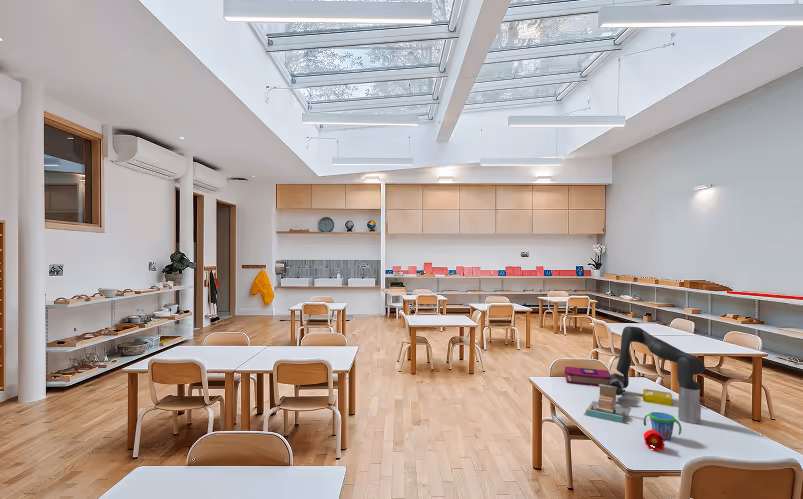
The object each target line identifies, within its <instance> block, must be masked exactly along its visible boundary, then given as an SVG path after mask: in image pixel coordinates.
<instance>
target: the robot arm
mask: <svg viewBox="0 0 803 499" xmlns="http://www.w3.org/2000/svg"><path fill="white" fill-rule="evenodd" d="M631 343H639V344H643V345H644V346H646V347H647V349H648V350H649V351H650V353H651V354H653V355H655V356H656V357H658V358H660V359H663V360H665V361H668V362H673V363H676V373H677V377H676V378H677V381H678V410H677V412H678V413H677V418H678V419H677V420H680V421H682V422H685V423H691V424H699V423H700V422H701V420H702V419H701V418H702V415H701V414H702V413H701V412H702V403H700V398H701V396H700V393H701V384H700V382H699V381H696V380H694V375H700V374H702V373H704V372H705V370H706V366H705V363H704V362H703V360H702V359H701V358H699V357H697V356H696V355H692V354H690V353H688V352H685V351H682V350H681V349H680V348H678V347H676V346H674V345H671V344H670V343H668V342H666V341H664V340H663V339H660V338H658V337H656V336H653V335H652V334H650V333H649V332H648V331H645V330H644V329H643V328H641V327H638V326H630V325H629V326H628V325H627V326H625V327H624V328H623V330H622V333H621V340H620V350H619V352H620V353H619V356H618V361H617V364H616V371H617V372H619V373H620V374H618V373H614V372H613V373H612V374H610V375H611V377H610V380H609V382H610V383H609V385H608V386H614V387H617V390H616V396H624V395H626V388H627V387H628V386H629V385H630V383H629V382H630V381H629V380H630V379H629V373H630V372H629V371H630V368H631V363H632V356H631V352H630V347H631V346H630V345H631ZM621 374H622V375H621Z"/></svg>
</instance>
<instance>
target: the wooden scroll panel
mask: <svg viewBox="0 0 803 499" xmlns="http://www.w3.org/2000/svg"><path fill="white" fill-rule="evenodd" d="M598 387H599V397H598V399H597V400H598V401H597V402H598V406H597V407H596V411H600V412H602V411H603V412H608V413H610V414H614V413H615V412H616V410H615V408H616V405H617V395H616V390H617V387H614V386H608V385H603V384H599V386H598Z"/></svg>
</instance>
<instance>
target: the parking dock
mask: <svg viewBox="0 0 803 499" xmlns="http://www.w3.org/2000/svg"><path fill="white" fill-rule="evenodd" d="M597 406H598V401H595V400H592V402H591V403H590V404H589V406H588V407H587V408H586V410H585V412H584V413H583V416H586V417H592V418H596V419H601V420H604V421H610V422H614V423H618V424H619V423H620V424H624V425H625V424H626V422H627V420H628V417H629V415H630V412H631V410H632V408H631V407H627V406H620V405H617V404H616V408H615V410H616V412H615V413H614V414H610V413H608V412H603V411H602V412H600V411H596V407H597Z"/></svg>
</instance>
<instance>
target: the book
mask: <svg viewBox="0 0 803 499" xmlns="http://www.w3.org/2000/svg"><path fill="white" fill-rule="evenodd" d="M611 375H612V374H611V373H610V372H609V370H606V369H595V368H587V367H586V368H584V367H576V366H575V367H573V366H564V377H565V381H566V383H567V384H570V385H571V384H573V385H580V386H581V385H582V386H590V385H591V386H592V387H599V384H603V385H609V383H610V377H611Z"/></svg>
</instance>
